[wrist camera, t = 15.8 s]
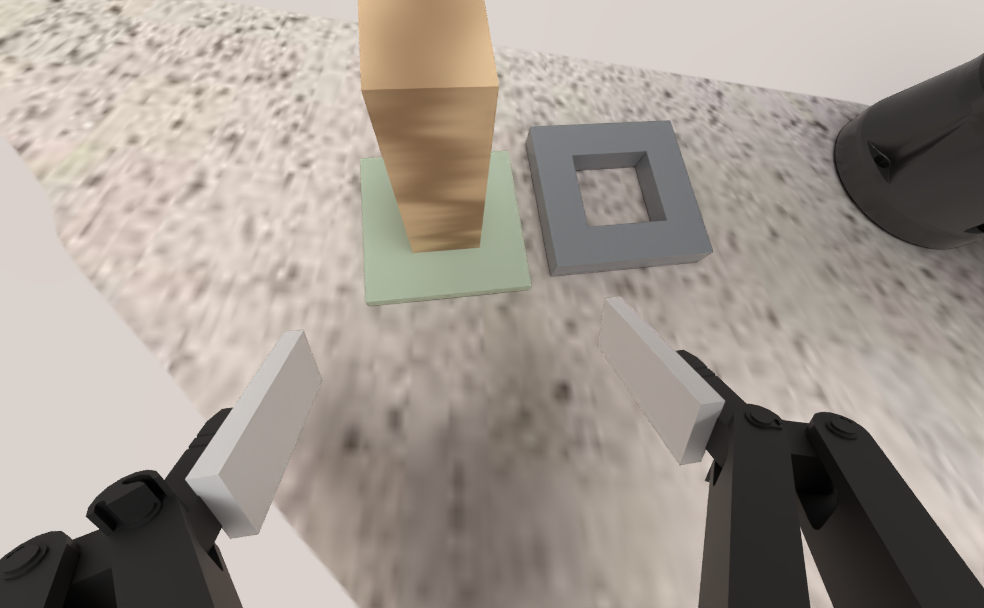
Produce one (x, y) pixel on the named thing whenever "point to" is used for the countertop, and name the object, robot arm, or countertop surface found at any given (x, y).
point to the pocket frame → (622, 245)
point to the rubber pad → (441, 272)
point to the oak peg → (432, 112)
